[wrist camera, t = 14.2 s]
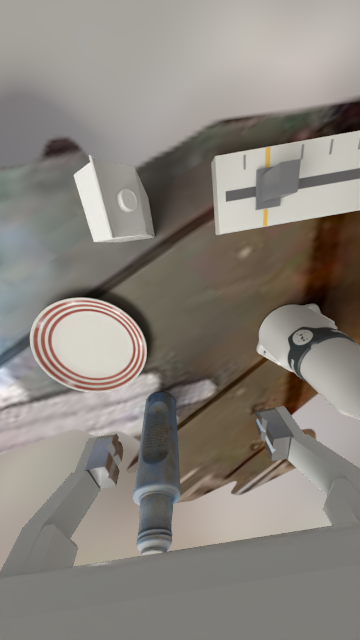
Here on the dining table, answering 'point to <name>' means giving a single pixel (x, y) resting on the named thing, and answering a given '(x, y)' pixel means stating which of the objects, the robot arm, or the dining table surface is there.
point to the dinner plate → (88, 344)
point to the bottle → (157, 474)
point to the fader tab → (276, 183)
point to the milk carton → (114, 202)
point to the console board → (313, 188)
